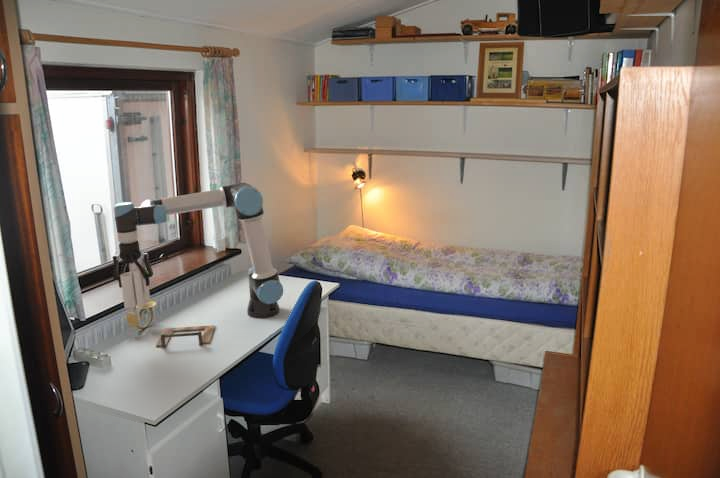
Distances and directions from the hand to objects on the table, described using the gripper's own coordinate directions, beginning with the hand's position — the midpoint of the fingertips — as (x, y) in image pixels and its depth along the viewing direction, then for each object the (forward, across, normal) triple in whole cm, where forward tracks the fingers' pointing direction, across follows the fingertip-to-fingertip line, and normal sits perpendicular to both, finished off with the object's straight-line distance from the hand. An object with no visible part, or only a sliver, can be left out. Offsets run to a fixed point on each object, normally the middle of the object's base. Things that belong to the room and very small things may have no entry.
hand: (135, 293), depth 234 cm
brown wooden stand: (+23, -17, -4) cm, 29 cm away
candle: (+5, 0, 0) cm, 5 cm away
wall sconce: (+23, +4, -17) cm, 29 cm away
